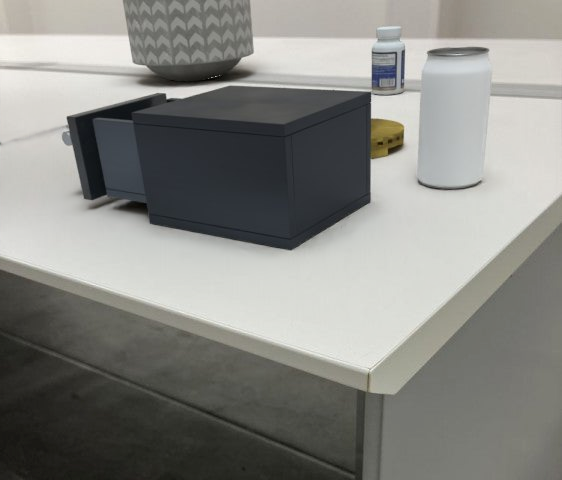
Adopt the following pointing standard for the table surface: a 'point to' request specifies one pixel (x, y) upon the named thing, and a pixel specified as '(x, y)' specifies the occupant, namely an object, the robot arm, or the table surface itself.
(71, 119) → the drawer
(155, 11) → the planter
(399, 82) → the pill bottle
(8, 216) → the table surface
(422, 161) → the can
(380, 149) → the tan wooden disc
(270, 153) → the cabinet
